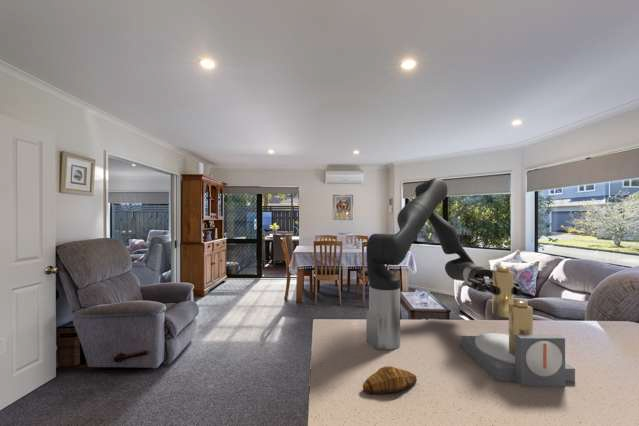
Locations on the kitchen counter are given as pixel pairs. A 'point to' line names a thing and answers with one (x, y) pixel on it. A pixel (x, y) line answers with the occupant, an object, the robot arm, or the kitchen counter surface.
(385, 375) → the croissant
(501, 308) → the weight
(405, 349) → the kitchen counter surface
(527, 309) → the weight
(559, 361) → the scale
